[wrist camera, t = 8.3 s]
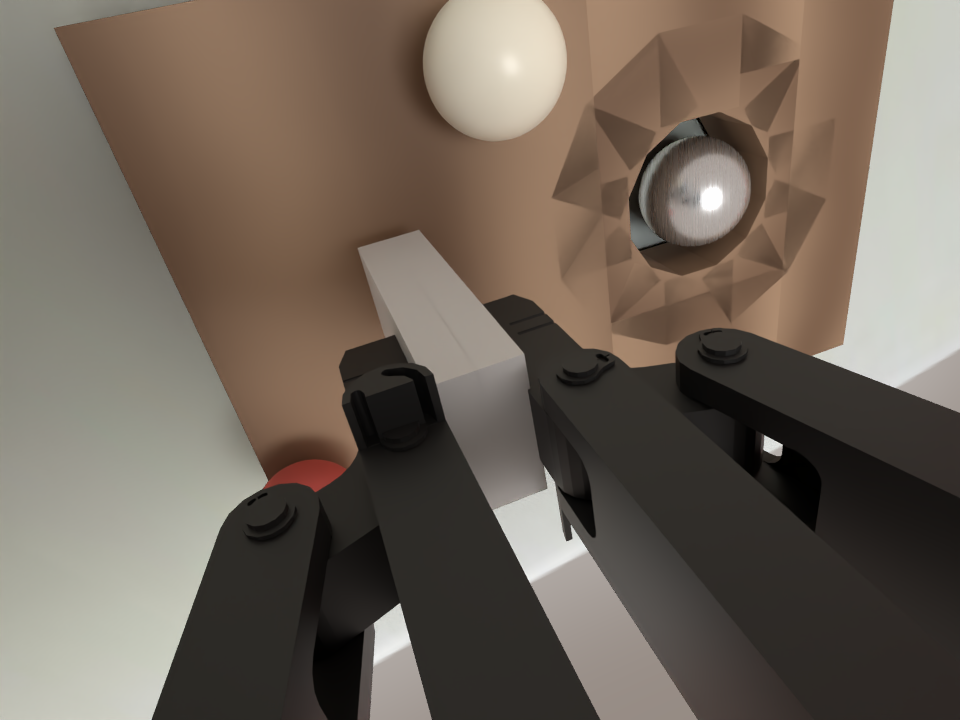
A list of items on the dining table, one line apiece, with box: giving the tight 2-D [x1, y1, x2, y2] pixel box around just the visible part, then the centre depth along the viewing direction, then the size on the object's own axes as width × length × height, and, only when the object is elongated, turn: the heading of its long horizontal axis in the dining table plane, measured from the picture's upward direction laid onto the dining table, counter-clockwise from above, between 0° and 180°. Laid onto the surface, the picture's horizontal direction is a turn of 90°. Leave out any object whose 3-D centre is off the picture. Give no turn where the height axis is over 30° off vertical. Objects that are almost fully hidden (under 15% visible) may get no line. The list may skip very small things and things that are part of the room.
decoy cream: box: [423, 0, 567, 141], centre depth 13 cm, size 3×3×3 cm
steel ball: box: [639, 136, 751, 246], centre depth 19 cm, size 3×3×3 cm
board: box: [54, 0, 894, 481], centre depth 18 cm, size 20×14×2 cm
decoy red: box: [263, 459, 347, 492], centre depth 17 cm, size 3×3×3 cm
